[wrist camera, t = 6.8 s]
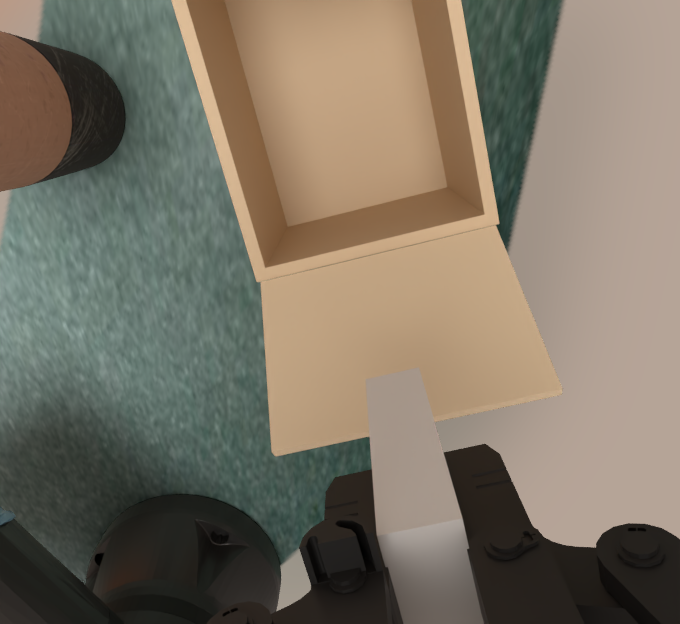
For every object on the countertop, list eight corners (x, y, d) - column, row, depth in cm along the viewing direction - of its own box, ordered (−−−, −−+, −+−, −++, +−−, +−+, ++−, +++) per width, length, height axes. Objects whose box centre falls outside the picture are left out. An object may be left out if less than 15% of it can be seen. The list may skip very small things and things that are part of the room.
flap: (495, 225, 29) (495, 232, 29) (260, 282, 30) (263, 288, 30) (562, 388, 23) (561, 394, 24) (271, 451, 24) (275, 456, 25)
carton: (457, 194, 40) (499, 225, 29) (282, 237, 41) (257, 284, 30) (398, -116, 35) (421, -227, 24) (199, -57, 36) (130, -136, 25)
